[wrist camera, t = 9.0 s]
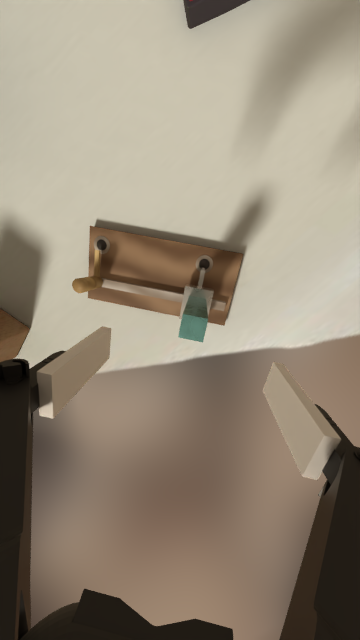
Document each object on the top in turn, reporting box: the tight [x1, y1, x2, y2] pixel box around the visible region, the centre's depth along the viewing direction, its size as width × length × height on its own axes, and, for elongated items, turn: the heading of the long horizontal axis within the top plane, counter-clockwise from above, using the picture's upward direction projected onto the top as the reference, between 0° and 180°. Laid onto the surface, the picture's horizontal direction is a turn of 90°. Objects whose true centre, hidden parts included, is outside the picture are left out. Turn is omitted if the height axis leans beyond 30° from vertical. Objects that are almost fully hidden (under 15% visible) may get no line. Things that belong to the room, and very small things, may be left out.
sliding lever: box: [178, 268, 214, 342], centre depth 30 cm, size 9×5×16 cm, turn 170°
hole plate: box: [72, 226, 243, 325], centre depth 35 cm, size 14×29×9 cm, turn 80°
